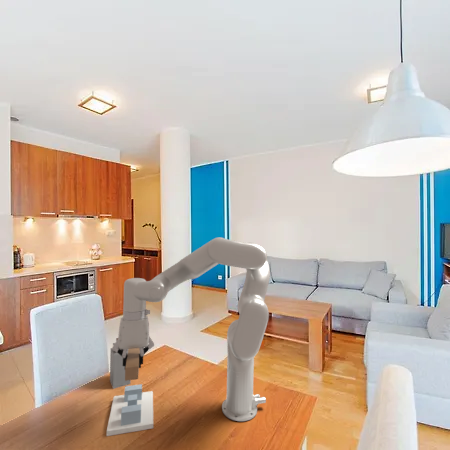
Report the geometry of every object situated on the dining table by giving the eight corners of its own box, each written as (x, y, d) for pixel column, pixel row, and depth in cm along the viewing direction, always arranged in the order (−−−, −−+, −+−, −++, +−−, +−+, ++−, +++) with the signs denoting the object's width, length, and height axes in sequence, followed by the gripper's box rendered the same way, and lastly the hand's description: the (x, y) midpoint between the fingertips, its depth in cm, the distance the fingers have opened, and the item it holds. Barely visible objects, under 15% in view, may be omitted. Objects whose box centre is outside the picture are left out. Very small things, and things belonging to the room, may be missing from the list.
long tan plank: (139, 356, 103) (140, 345, 103) (138, 379, 88) (138, 366, 88) (128, 357, 102) (128, 346, 102) (124, 380, 87) (125, 368, 87)
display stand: (152, 394, 105) (153, 380, 105) (153, 428, 88) (153, 411, 88) (113, 400, 102) (114, 385, 102) (106, 436, 84) (107, 418, 84)
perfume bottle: (126, 376, 118) (127, 334, 118) (130, 383, 112) (131, 340, 113) (109, 380, 114) (110, 337, 115) (113, 388, 109) (114, 343, 109)
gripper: (158, 309, 101) (157, 359, 101) (110, 312, 97) (108, 364, 96) (159, 316, 94) (157, 369, 94) (107, 319, 89) (105, 375, 89)
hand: (132, 366), depth 95 cm, fingers closed on long tan plank, 4 cm apart
